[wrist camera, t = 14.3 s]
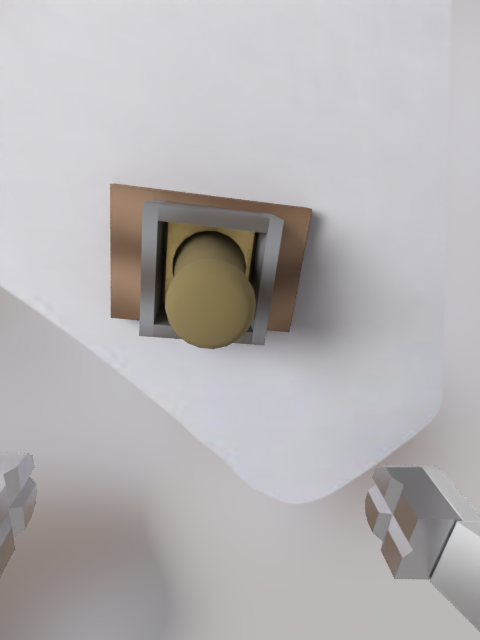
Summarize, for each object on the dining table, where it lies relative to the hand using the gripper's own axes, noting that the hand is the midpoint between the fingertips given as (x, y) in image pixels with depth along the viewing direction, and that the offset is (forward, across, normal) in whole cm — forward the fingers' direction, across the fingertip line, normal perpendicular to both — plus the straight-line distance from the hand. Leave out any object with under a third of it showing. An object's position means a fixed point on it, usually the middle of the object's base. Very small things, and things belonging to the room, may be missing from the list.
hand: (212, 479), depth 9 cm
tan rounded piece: (+23, 0, 0) cm, 23 cm away
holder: (+25, 0, 0) cm, 25 cm away
